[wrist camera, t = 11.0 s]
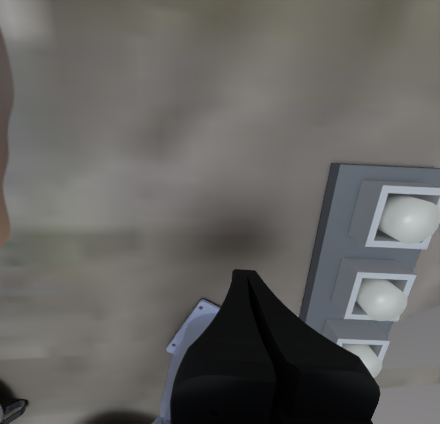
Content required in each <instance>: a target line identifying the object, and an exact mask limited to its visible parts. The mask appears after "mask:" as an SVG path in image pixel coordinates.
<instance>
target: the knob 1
mask: <svg viewBox="0 0 440 424" xmlns="http://www.w3.org/2000/svg"><path fill="white" fill-rule="evenodd" d="M342 347H343V348H344V349H346V350H348V351H350V352H352V353H353V354H355V355H357V356H359V358H360V359H361V360H362V362H363V363H364V364H365V366H366V367H367V369H368V370H369V372H370V373H371V375H372V377H375V376H376V375H378V374H379V372H380V371H381V369H382V363H381V361H380V360H379V358H378V357H377V356H376V354H375V353H374V352H373V350H372V349H371V348H370V346H369V345H368V344H345V343H343V344H342Z"/></svg>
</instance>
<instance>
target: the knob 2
mask: <svg viewBox="0 0 440 424" xmlns="http://www.w3.org/2000/svg"><path fill="white" fill-rule="evenodd" d="M439 224H440V210H439V208H438V207H437V206H436V205H435V204H434V203H432V202H429V201H425V200H421V199H418V198H414V197H410V196H406V195H403V194H397V193H388V196H387V199H386V202H385V206H384V209H383V212H382V215H381V219H380V222H379V225H378V230H380V231H382V232H384V233H386V234H387V235H389V236H391V237H393V238H395V239H397V240H399V241H401V242H403V243H407V244H413V243H418V242H421V241H423V240H425V239H427V238H428V237H430V236H431V235H432V234H433V233H434V232H435V231H436V229H437V228H438V226H439Z"/></svg>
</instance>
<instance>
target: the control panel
mask: <svg viewBox="0 0 440 424" xmlns="http://www.w3.org/2000/svg"><path fill="white" fill-rule="evenodd" d="M388 193H397V194H403V195H406V196H410V197H414V198H418V199H421V200H425V201H429V202H432V203H434V204H435V205H436V206H437V207H438V208H439V210H440V168H425V167H403V166H381V165H360V164H338V163H332V164H331V169H330V174H329V179H328V183H327V188H326V193H325V198H324V203H323V208H322V212H321V217H320V222H319V227H318V232H317V236H316V241H315V246H314V251H313V256H312V261H311V265H310V270H309V275H308V280H307V285H306V289H305V294H304V299H303V304H302V309H301V314H300V319H301V320H302V321H303V322H305V323H306V324H307V325H309V326H310V327H311V328H313V329H314V330H315V331H317V332H318V333H320V334H321V335H323V336H324V337H326V338H328V339H329V340H331V341H332V342H334V343H335V344H337V345H339V346H341V347H342V344H343V343H345V344H368V345H369V346H370V348H371V349H372V350H373V352H374V353H375V354H376V356H377V357H378V358H379V360H380V361H381V363H382V360H383V357H384V355H385V353H386V350H387V348H388V345H389V343H390V340H389V339H388V338H387V336H388V334H389V331H390V329H391V326H392V323H393V321H398V320H399V318H400V315H401V314H400V315H399V316H398V317H396V318H394V319H391V320H388V321H377V320H374V319H372V318H370V317H369V316H368V314H367V313H366V312H365V311H364V310H363V309H362V307H361V306H360V305H359V304H358V303H357V302H356V298H357V294H358V291H359V288H360V284H361V281H362V278H372V279H387V280H388V281H390V282H391V283H392V284H393V285H394V286H396V287H397V288H398V289H399V290H401V291H402V292H403V293H404V294H405V295H406V297H408V295H409V292H410V290H411V287H412V285H413V282H414V280H415V277H416V274H415V273H413V269H414V267H415V264H416V262H417V259H418V257H419V254H420V251H421V249H427V247H428V245H429V242H430V240H431V237H432V235H433V234H432V235H431V236H430V237H428V238H427V239H425V240H423V241H421V242H418V243H413V244H407V243H403V242H401V241H399V240H397V239H395V238H393V237H391V236H389V235H387V234H386V233H384V232H382V231H380V230H378V225H379V222H380V219H381V215H382V212H383V209H384V206H385V202H386V199H387V196H388ZM373 378H376V376H375V377H373Z"/></svg>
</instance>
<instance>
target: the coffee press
mask: <svg viewBox="0 0 440 424" xmlns="http://www.w3.org/2000/svg"><path fill="white" fill-rule="evenodd" d="M19 406H23V408H22V409H20V410H19V411H17V412H16V413H14V414H13V415H11V416H9V417H8V418H7V419H5V420H4V421H3V417H4V415H3V413H6V412H9V411H11V410H13V409H15V408H17V407H19ZM25 410H26V401H25V400H23V399H22V400H19V401H16V402H14V403H12V404H10V405H8V406H1V405H0V424H9V423H10V422H12V421H13V420H15V419H16V418H18V417H19V416H21V415H22V414H23V413H24V412H25Z"/></svg>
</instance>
